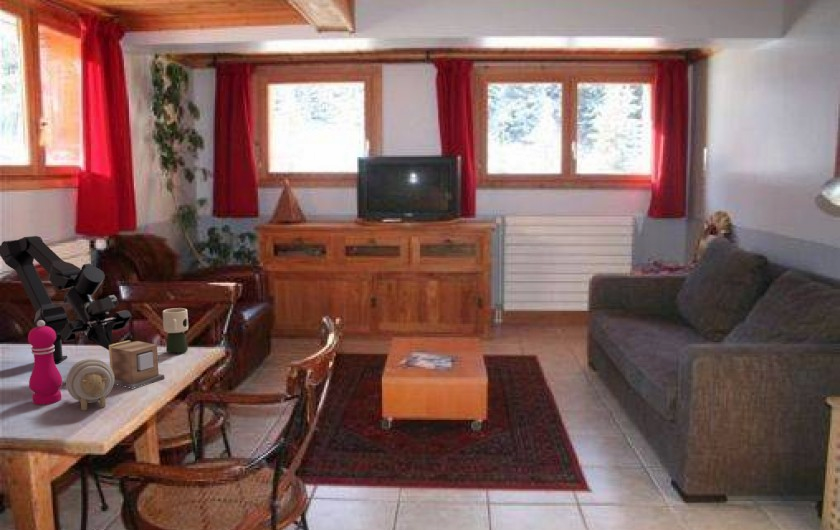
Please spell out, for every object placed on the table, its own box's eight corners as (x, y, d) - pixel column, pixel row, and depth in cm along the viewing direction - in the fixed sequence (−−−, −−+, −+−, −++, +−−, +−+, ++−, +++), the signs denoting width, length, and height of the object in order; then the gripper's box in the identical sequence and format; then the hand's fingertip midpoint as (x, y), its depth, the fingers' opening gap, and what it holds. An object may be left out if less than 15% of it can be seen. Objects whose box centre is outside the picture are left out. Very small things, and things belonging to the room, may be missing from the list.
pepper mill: (50, 406, 173) (43, 324, 170) (23, 404, 175) (16, 322, 172) (70, 396, 180) (64, 317, 177) (44, 394, 182) (38, 316, 179)
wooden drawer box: (88, 378, 195) (86, 344, 194) (121, 368, 204) (118, 336, 202) (132, 388, 186) (130, 353, 185) (164, 378, 195) (162, 344, 193)
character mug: (188, 355, 217) (186, 313, 215) (163, 357, 215) (161, 314, 213) (190, 346, 227) (188, 306, 225) (166, 348, 226) (163, 307, 224)
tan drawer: (110, 370, 193) (108, 345, 192) (129, 365, 198) (128, 340, 197) (137, 377, 188) (136, 350, 187) (156, 371, 193) (155, 345, 192)
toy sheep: (74, 418, 165) (71, 370, 164) (61, 398, 179) (58, 354, 177) (123, 408, 171) (120, 363, 170) (107, 390, 185) (104, 347, 183)
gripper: (64, 292, 189) (93, 339, 185) (126, 281, 205) (154, 325, 201) (48, 318, 194) (76, 364, 190) (109, 306, 210) (136, 348, 206)
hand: (112, 349), depth 197 cm, fingers closed
